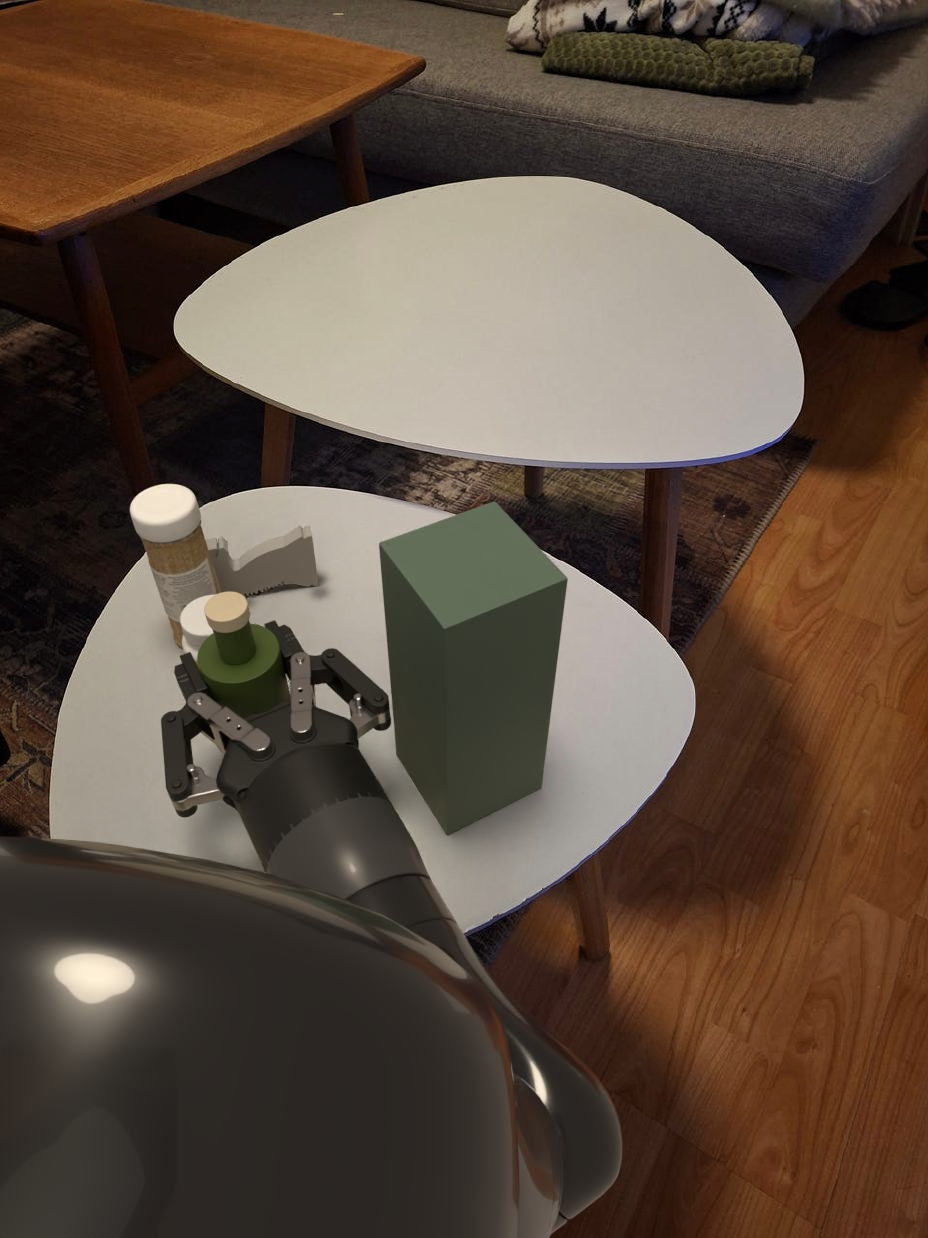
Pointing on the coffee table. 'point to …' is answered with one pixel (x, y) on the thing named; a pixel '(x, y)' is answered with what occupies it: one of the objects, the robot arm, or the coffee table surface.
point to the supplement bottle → (195, 626)
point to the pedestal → (471, 659)
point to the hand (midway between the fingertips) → (229, 647)
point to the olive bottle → (241, 658)
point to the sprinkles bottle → (174, 548)
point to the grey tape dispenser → (266, 563)
